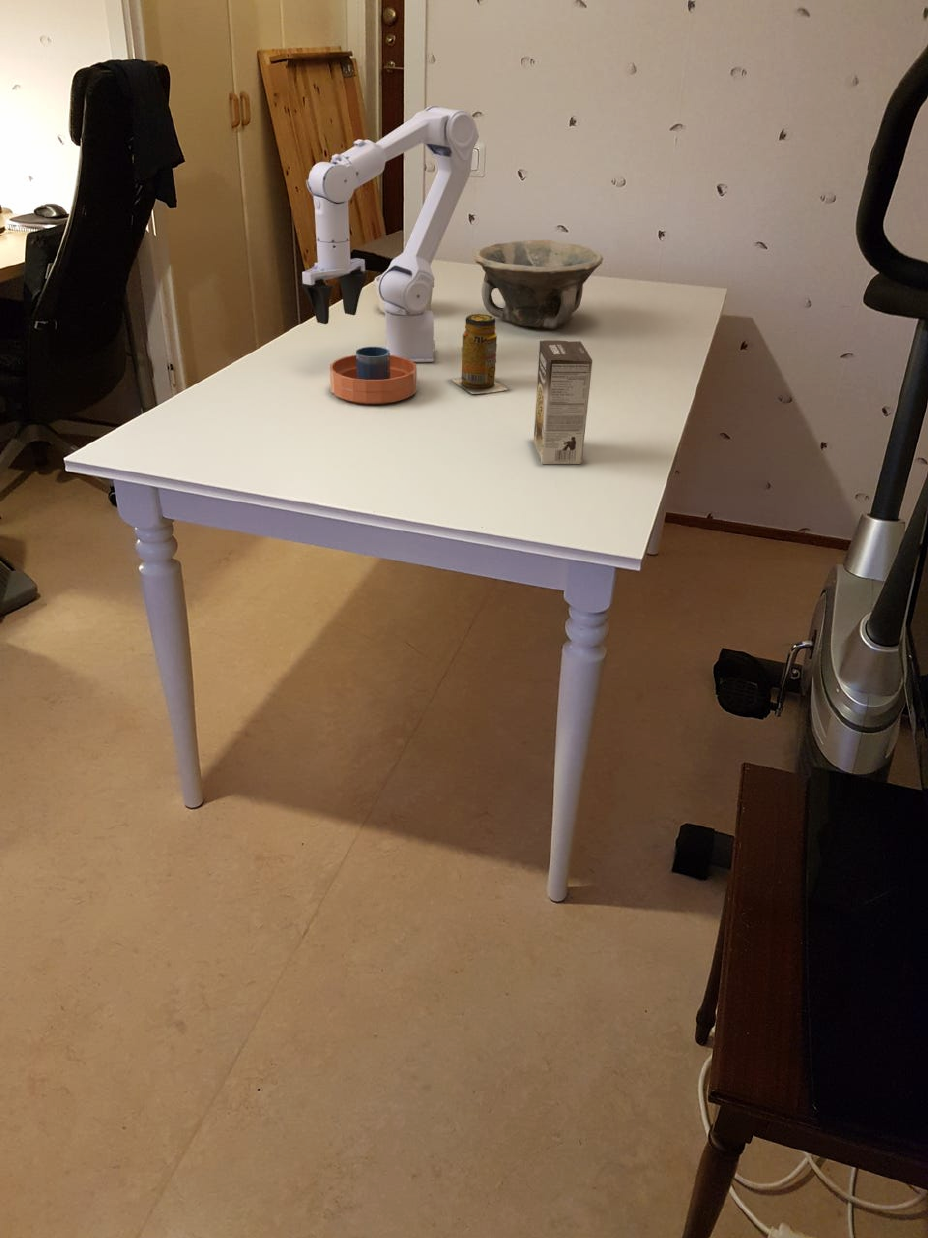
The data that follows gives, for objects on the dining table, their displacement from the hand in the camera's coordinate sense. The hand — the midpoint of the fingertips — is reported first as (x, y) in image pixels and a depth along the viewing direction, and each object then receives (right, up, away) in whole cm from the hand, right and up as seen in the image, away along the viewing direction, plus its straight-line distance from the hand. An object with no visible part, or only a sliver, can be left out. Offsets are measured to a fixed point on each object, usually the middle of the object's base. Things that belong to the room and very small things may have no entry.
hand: (336, 318), depth 171 cm
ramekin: (+10, +14, +40) cm, 44 cm away
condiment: (+26, -13, 0) cm, 29 cm away
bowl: (+38, +10, +35) cm, 53 cm away
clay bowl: (+7, -14, -5) cm, 17 cm away
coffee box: (+37, -29, -26) cm, 54 cm away
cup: (+7, -14, -5) cm, 16 cm away
